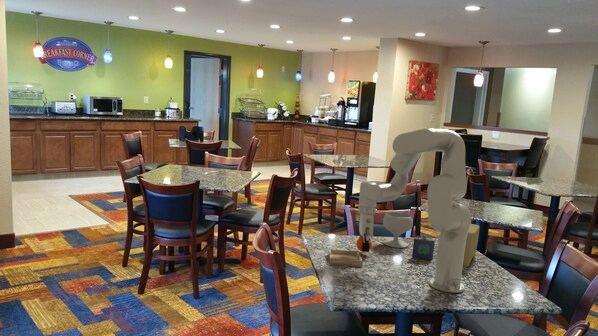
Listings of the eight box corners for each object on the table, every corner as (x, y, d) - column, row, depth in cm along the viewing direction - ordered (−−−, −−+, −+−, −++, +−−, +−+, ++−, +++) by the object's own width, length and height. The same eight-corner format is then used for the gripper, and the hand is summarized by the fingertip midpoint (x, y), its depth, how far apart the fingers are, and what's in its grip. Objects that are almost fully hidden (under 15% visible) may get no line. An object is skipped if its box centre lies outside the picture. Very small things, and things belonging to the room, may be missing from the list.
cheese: (478, 269, 199) (482, 235, 197) (454, 265, 202) (458, 231, 200) (475, 255, 220) (479, 224, 218) (454, 251, 223) (458, 221, 221)
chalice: (405, 251, 217) (408, 219, 215) (376, 244, 224) (379, 214, 222) (413, 244, 229) (417, 214, 227) (386, 238, 236) (389, 209, 234)
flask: (432, 258, 209) (434, 235, 208) (433, 260, 206) (436, 237, 205) (411, 256, 209) (413, 233, 208) (412, 258, 207) (415, 235, 205)
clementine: (372, 255, 203) (374, 239, 202) (356, 254, 203) (358, 238, 202) (370, 249, 211) (371, 234, 210) (354, 248, 211) (356, 233, 210)
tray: (362, 267, 190) (362, 261, 190) (330, 264, 190) (330, 258, 189) (357, 256, 203) (358, 251, 203) (328, 254, 203) (328, 249, 202)
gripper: (379, 214, 196) (375, 255, 198) (372, 206, 213) (369, 243, 215) (361, 213, 196) (358, 254, 198) (355, 205, 213) (352, 243, 215)
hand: (363, 248), depth 206 cm, fingers closed on clementine, 8 cm apart
